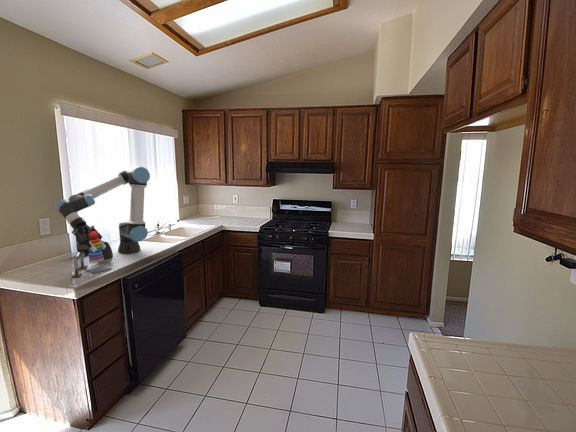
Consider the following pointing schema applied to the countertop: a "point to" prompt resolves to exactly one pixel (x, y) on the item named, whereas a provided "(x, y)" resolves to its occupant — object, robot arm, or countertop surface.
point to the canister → (82, 247)
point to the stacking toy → (96, 255)
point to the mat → (98, 269)
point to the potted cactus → (106, 253)
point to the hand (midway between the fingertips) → (99, 249)
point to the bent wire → (77, 265)
